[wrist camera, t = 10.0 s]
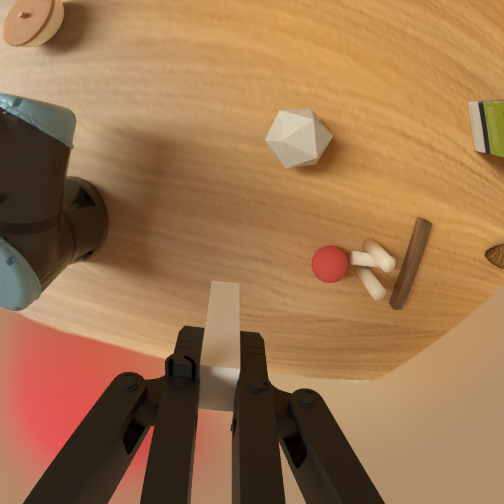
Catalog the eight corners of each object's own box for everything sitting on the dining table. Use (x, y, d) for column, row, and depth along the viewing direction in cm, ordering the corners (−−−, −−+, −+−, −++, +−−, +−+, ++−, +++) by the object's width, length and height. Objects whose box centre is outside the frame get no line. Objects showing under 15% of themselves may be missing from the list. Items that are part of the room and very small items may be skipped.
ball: (345, 280, 52) (316, 265, 54) (357, 251, 49) (326, 236, 52) (333, 294, 47) (301, 277, 50) (346, 262, 44) (311, 245, 47)
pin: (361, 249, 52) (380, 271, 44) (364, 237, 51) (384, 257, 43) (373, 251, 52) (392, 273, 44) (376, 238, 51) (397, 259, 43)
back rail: (388, 302, 57) (393, 309, 55) (417, 217, 50) (424, 221, 48) (396, 303, 57) (402, 309, 55) (425, 219, 50) (432, 223, 48)
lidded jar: (83, 19, 33) (56, 4, 25) (40, 62, 36) (8, 57, 27) (60, -10, 30) (34, -25, 21) (20, 31, 32) (-10, 24, 23)
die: (321, 164, 47) (353, 134, 38) (281, 187, 44) (310, 156, 35) (290, 124, 47) (316, 88, 38) (248, 143, 44) (269, 105, 35)
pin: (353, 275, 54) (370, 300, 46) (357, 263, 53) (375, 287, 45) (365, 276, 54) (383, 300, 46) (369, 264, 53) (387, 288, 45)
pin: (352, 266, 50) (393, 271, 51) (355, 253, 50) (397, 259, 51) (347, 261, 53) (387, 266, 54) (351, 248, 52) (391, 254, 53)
